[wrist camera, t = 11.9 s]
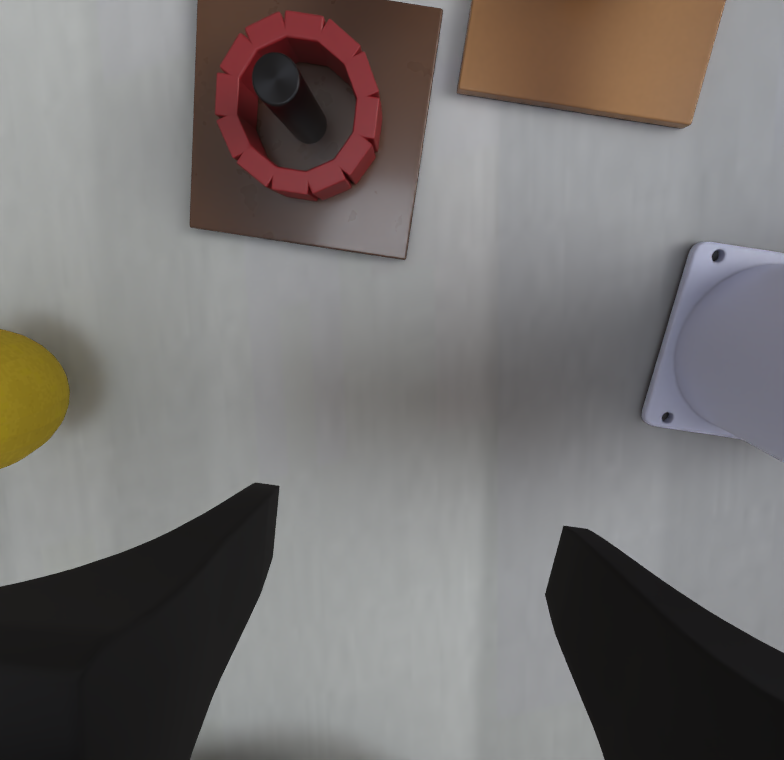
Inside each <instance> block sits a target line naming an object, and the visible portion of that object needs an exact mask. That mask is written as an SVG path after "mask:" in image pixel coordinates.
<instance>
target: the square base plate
mask: <svg viewBox="0 0 784 760" xmlns="http://www.w3.org/2000/svg"><path fill="white" fill-rule="evenodd" d="M286 10H289V11H296V12H302V13H308V14H315V15H321V16H323V17H324V19H325V22H326V23H327V21H328V20H329V19H331V20H332V21H334V22H335V23H336V24H337V25H338V26H339V27H340V28H341V29H343V30H344V31H345V32H346V33H347V34H348V35H349V36H351V37H352V38H353V39H354V40H355V41H356V42H357V43H358V44H360V46H361V50H362V52H365V53H366V56H367V59H368V62H369V65H370V67H371V70H372V73H373V76H374V78H375V81H376V84H377V87H378V89H379V95H380V101H381V107H382V110H381V111H382V125H381V133H380V140H379V148H378V152H374V153H375V156H376V157H375V159H374V161H373V162H372V163H371V165H370V166H369V168H368V169H367V170H366V172H365V173H364V175H363V176H362V177H361V179H360V180H359V181H358V183H357V184H354V183H353V182H352V181H350V183H351V186H352V188H351V189H349V190H346V191H344V192H342V193H339V194H337V195H335V196H332V197H330V198H328V199H326V200H321V199H320V198H318V201H311V200H304V199H298V198H291V197H286V196H284V195H282V194H279V193H277V192H275V191H273V190H271V189H269V188H267V187H265V186H264V185H263V184H261V183H260V182H259V181H258V180H256V179H255V178H254V177H253V176H251V175H250V174H249V173H248V172H247V171H245V170H244V169H243V168H242V167H240V166H239V165H238V164H237V160H235V159H234V158H232V156H231V154H230V151H229V149H228V147H227V145H226V142H225V140H224V138H223V136H222V133H221V131H220V129H219V126H218V124H217V120H218V119H220V118H219V117H218V116H217V115H215V99H216V77H217V73H224V72H223V71H222V70H221V68H220V64H221V62H222V61H223V59H224V57H225V56H226V54H227V52H228V51H229V49H230V48H231V46H232V44H233V43H234V41H235V39H236V38H237V36H238V34H239V33H242V34H243V35H245V36H246V37H247V38H248V36H247V34H246V32H245V28H246V27H247V26H249V25H251V24H253V23H255V22H257V21H259V20H261V19H263V18H265V17H267V16H269V15H271V14H273V13H275V12H278V11H279V12H280V13H281V14H282V16H283V18H285V11H286ZM442 14H443V10H442V9H440V8H434V7H427V6H421V5H415V4H409V3H402V2H396V1H390V0H198V4H197V33H196V61H195V89H194V118H193V146H192V175H191V203H190V227H191V228H198V229H204V230H211V231H218V232H224V233H231V234H237V235H244V236H251V237H257V238H264V239H270V240H277V241H284V242H290V243H297V244H303V245H310V246H316V247H323V248H330V249H336V250H343V251H349V252H356V253H363V254H369V255H376V256H382V257H389V258H396V259H402V260H405V259H406V255H407V248H408V242H409V235H410V228H411V222H412V215H413V208H414V202H415V195H416V188H417V182H418V175H419V168H420V161H421V155H422V148H423V141H424V135H425V128H426V121H427V115H428V108H429V101H430V95H431V88H432V81H433V74H434V68H435V61H436V54H437V48H438V41H439V34H440V28H441V21H442ZM252 84H253V88H254V90H255V92H256V94H257V96H258V97H259V98H258V110H257V125H256V131H257V133H258V135H259V138H260V140H261V142H262V145H263V147H264V149H265V152H266V154H267V157H268V158H269V159H270V160H271V161H273V162H274V163H275V164H276V165H278V166H279V167H283V168H290V169H297V170H303V171H308V170H310V169H312V168H314V167H317V166H319V165H321V164H324V163H326V162H328V161H330V160H333V159H334V158H335V157H336V155H337V154H338V152H339V151H340V149H341V148H342V147H343V145H344V144H345V142H346V141H347V139H348V138H349V137H350V135H351V134H352V132H353V123H354V115H355V106H356V99H355V96H354V94H353V91H352V88H351V86H350V85H349V84H348V83H346V82H345V81H344V80H343V79H342V78H341V77H339V76H338V75H337V74H336V73H335V72H334V71H333V70H331V69H330V68H329V67H328V66H323V65H317V64H311V63H304V62H298V63H296V64H295V63H294V62H293V61H292V60H291V59H290V58H289V57H288V56H286V55H285V54H282V53H279V52H271V53H267V54H265V55H263V56H262V57H261V58H260V59H259V60H258V61H257V62H256V64H255V66H254V68H253V72H252Z"/></svg>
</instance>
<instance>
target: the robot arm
mask: <svg viewBox="0 0 784 760" xmlns="http://www.w3.org/2000/svg"><path fill="white" fill-rule="evenodd" d="M716 250H717V251H718V253H719V257H718V259H717V260H716V261H715V262H714V261H713V260H712V254H713V252H714V251H716ZM666 412H669V416H668V418H667V419H665V420H662V415H663V414H664V413H666ZM641 416H642V419H643V420H644V421H645V422H646V423H647V424H649V425H651V426H655V427H662V428H669V429H676V430H682V431H689V432H696V433H703V434H709V435H716V436H723V437H730V438H736V439H742V440H744V441H746V442H747V443H749V444H751V445H753V446H755V447H757V448H758V449H760V450H762V451H764V452H766V453H767V454H769V455H771V456H773V457H775V458H777V459H778V460H780V461H782V462H784V253H781V252H775V251H768V250H762V249H755V248H749V247H742V246H736V245H729V244H723V243H716V242H710V241H708V242H699V243H696V244H695V245H694V246H693V247H692V248H691V250H690V252H689V254H688V258H687V261H686V265H685V268H684V271H683V275H682V278H681V281H680V285H679V288H678V291H677V295H676V298H675V302H674V305H673V308H672V312H671V315H670V318H669V322H668V325H667V328H666V332H665V335H664V339H663V342H662V345H661V349H660V352H659V355H658V359H657V362H656V365H655V369H654V372H653V375H652V379H651V382H650V386H649V389H648V392H647V396H646V399H645V402H644V406H643V409H642V414H641ZM278 496H279V486H276V485H269V484H262V483H253V484H252V485H250V486H248V487H247V488H245V489H243V490H242V491H240V492H239V493H237V494H235V495H234V496H232V497H231V498H229V499H227V500H226V501H224V502H222V503H221V504H219V505H217V506H216V507H214V508H212V509H211V510H209V511H207V512H206V513H204V514H202V515H200V516H199V517H197V518H195V519H193V520H191V521H189V522H187V523H185V524H184V525H182V526H180V527H178V528H176V529H174V530H172V531H170V532H168V533H166V534H164V535H162V536H160V537H158V538H156V539H153V540H151V541H149V542H146V543H144V544H142V545H139V546H137V547H134V548H132V549H130V550H127V551H124V552H122V553H119V554H116V555H113V556H110V557H107V558H104V559H101V560H98V561H95V562H92V563H89V564H86V565H83V566H80V567H77V568H74V569H71V570H67V571H63V572H60V573H56V574H52V575H49V576H45V577H41V578H37V579H33V580H28V581H24V582H20V583H16V584H11V585H6V586H2V587H0V760H190V757H191V754H192V751H193V749H194V746H195V743H196V740H197V738H198V735H199V732H200V729H201V727H202V724H203V721H204V719H205V716H206V713H207V710H208V708H209V705H210V702H211V700H212V697H213V695H214V692H215V690H216V688H217V685H218V683H219V681H220V678H221V676H222V674H223V672H224V670H225V668H226V666H227V664H228V662H229V660H230V657H231V655H232V653H233V651H234V649H235V647H236V645H237V643H238V641H239V639H240V637H241V634H242V632H243V630H244V628H245V626H246V624H247V622H248V620H249V618H250V616H251V613H252V611H253V609H254V607H255V605H256V603H257V601H258V598H259V596H260V594H261V591H262V588H263V585H264V582H265V580H266V577H267V573H268V570H269V567H270V564H271V561H272V558H273V549H274V538H275V528H276V517H277V507H278ZM545 596H546V600H547V604H548V609H549V613H550V617H551V620H552V624H553V628H554V631H555V634H556V637H557V640H558V642H559V645H560V647H561V650H562V652H563V655H564V657H565V660H566V662H567V665H568V667H569V670H570V672H571V674H572V677H573V679H574V682H575V684H576V686H577V689H578V691H579V694H580V696H581V699H582V701H583V703H584V706H585V708H586V711H587V713H588V715H589V718H590V720H591V723H592V725H593V728H594V730H595V733H596V736H597V739H598V741H599V744H600V747H601V750H602V753H603V756H604V759H605V760H784V653H783V652H781V651H779V650H777V649H775V648H773V647H771V646H769V645H767V644H765V643H763V642H761V641H760V640H758V639H756V638H754V637H752V636H751V635H749V634H747V633H745V632H744V631H742V630H740V629H738V628H737V627H735V626H733V625H731V624H730V623H728V622H726V621H724V620H723V619H721V618H719V617H718V616H716V615H714V614H713V613H711V612H709V611H708V610H706V609H705V608H703V607H701V606H700V605H698V604H697V603H695V602H694V601H692V600H691V599H689V598H688V597H686V596H685V595H683V594H682V593H680V592H679V591H677V590H676V589H674V588H673V587H671V586H670V585H668V584H667V583H665V582H664V581H662V580H661V579H660V578H658V577H657V576H655V575H654V574H652V573H651V572H650V571H648V570H647V569H645V568H644V567H643V566H641V565H640V564H638V563H637V562H636V561H634V560H633V559H632V558H630V557H629V556H627V555H626V554H625V553H623V552H622V551H620V550H619V549H618V548H616V547H615V546H613V545H612V544H610V543H609V542H608V541H606V540H605V539H603V538H602V537H600V536H599V535H597V534H595V533H594V532H592V531H590V530H588V529H584V528H577V527H569V526H563V530H562V533H561V537H560V541H559V545H558V548H557V552H556V556H555V559H554V563H553V567H552V571H551V574H550V578H549V582H548V586H547V589H546V593H545Z"/></svg>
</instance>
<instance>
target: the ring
mask: <svg viewBox="0 0 784 760" xmlns="http://www.w3.org/2000/svg"><path fill="white" fill-rule="evenodd" d="M245 32H246V34H247V36H248V38H247V37H246V36H245V35H243V34H242V33H239V34H238V36H237V38H236V39H235V41H234V43H233V44H232V46H231V48H230V49H229V51H228V52H227V54H226V56H225V57H224V59H223V61H222V62H221V64H220V68H221V70H222V71H223V72H224V73H217V77H216V99H215V115H217V116H218V117H219V118H220V119H218V120H217V124H218V126H219V129H220V131H221V133H222V136H223V138H224V140H225V142H226V145H227V147H228V149H229V151H230V154H231V156H232V158H234V159H235V160H237V164H238V165H239V166H240V167H242V168H243V169H244V170H245V171H247V172H248V173H249V174H250V175H251V176H253V177H254V178H255V179H256V180H258V181H259V182H260V183H261V184H263V185H264V186H265V187H267V188H269V189H271V190H273V191H275V192H277V193H279V194H282V195H284V196H286V197H291V198H298V199H304V200H311V201H318V198H320V199H321V200H326V199H328V198H330V197H332V196H335V195H337V194H339V193H342V192H344V191H346V190H349V189H351V188H352V186H351V183H350V181H352V182H353V183H354V184H357V183H358V181H359V180H360V179H361V177H362V176H363V175H364V173H365V172H366V170H367V169H368V168H369V166H370V165H371V163H372V162H373V161H374V159H375V157H376V156H375V153H374V152H378V148H379V140H380V133H381V125H382V111H381V110H382V107H381V101H380V95H379V89H378V87H377V84H376V81H375V78H374V76H373V73H372V70H371V67H370V65H369V62H368V59H367V56H366V53H365V52H362V50H361V46H360V44H358V43H357V42H356V41H355V40H354V39H353V38H352V37H351V36H349V35H348V34H347V33H346V32H345V31H344V30H343V29H341V28H340V27H339V26H338V25H337V24H336V23H335V22H334V21H332V20H331V19H329V20H328V21H327V23H326V22H325V19H324V17H323V16H321V15H315V14H308V13H302V12H296V11H289V10H286V11H285V18H283V16H282V14H281V13H280V12H279V11H278V12H275V13H273V14H271V15H269V16H267V17H265V18H263V19H261V20H259V21H257V22H255V23H253V24H251V25H249V26H247V27H246V28H245ZM271 52H279V53H282V54H285V55H286V56H288V57H289V58H290V59H291V60H292V61H293V62H294V63H295V64H296V63H298V62H304V63H311V64H317V65H323V66H328V67H329V68H330V69H331V70H333V71H334V72H335V73H336V74H337V75H338V76H339V77H341V78H342V79H343V80H344V81H345V82H346V83H348V84H349V85H350V86H351V88H352V91H353V94H354V96H355V99H356V106H355V115H354V123H353V132H352V134H351V135H350V137H349V138H348V139H347V141H346V142H345V144H344V145H343V147H342V148H341V149H340V151H339V152H338V154H337V155H336V157H335V158H334V159H333V160H330V161H328V162H326V163H324V164H321V165H319V166H317V167H314V168H312V169H310V170H308V171H303V170H297V169H290V168H283V167H279V166H278V165H276V164H275V163H274V162H273V161H271V160H270V159H269V158H268V157H267V154H266V152H265V149H264V147H263V145H262V142H261V140H260V138H259V135H258V133H257V131H256V125H257V110H258V98H259V97H258V96H257V94H256V92H255V90H254V88H253V84H252V72H253V68H254V66H255V64H256V62H257V61H258V60H259V59H260V58H261V57H262V56H263V55H265V54H267V53H271Z"/></svg>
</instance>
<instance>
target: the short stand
mask: <svg viewBox="0 0 784 760" xmlns="http://www.w3.org/2000/svg"><path fill="white" fill-rule="evenodd" d="M725 2H726V0H472V2H471V8H470V14H469V20H468V26H467V33H466V39H465V45H464V51H463V57H462V63H461V70H460V76H459V82H458V88H457V93H459V94H465V95H472V96H478V97H485V98H491V99H497V100H504V101H510V102H517V103H523V104H529V105H536V106H542V107H549V108H555V109H561V110H568V111H574V112H580V113H587V114H593V115H600V116H606V117H612V118H619V119H625V120H632V121H638V122H644V123H651V124H657V125H664V126H670V127H676V128H685V127H687V126H689V125H691V123H692V119H693V116H694V112H695V109H696V105H697V102H698V98H699V94H700V91H701V87H702V84H703V80H704V77H705V73H706V69H707V66H708V62H709V59H710V55H711V52H712V48H713V44H714V41H715V37H716V34H717V30H718V27H719V23H720V19H721V16H722V12H723V9H724V5H725Z"/></svg>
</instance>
